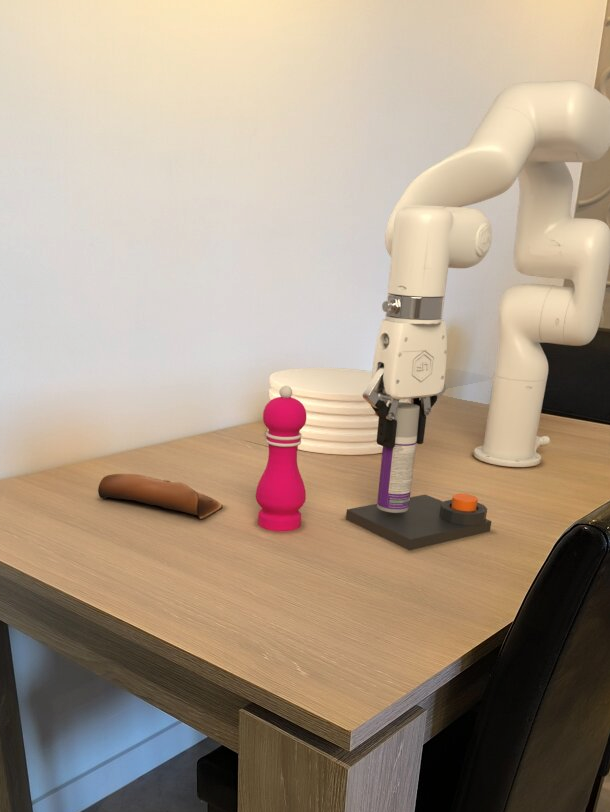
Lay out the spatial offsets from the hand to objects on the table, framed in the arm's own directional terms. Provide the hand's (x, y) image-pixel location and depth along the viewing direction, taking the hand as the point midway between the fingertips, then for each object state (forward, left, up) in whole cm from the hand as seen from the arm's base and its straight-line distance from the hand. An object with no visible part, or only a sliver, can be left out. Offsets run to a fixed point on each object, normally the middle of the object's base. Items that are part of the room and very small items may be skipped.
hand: (399, 442), depth 118 cm
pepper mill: (+15, -7, -12) cm, 21 cm away
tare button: (-8, +7, -9) cm, 14 cm away
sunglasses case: (+26, -23, -12) cm, 37 cm away
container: (0, 0, -10) cm, 10 cm away
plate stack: (-25, -45, -12) cm, 53 cm away
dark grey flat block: (-3, +3, -12) cm, 13 cm away
